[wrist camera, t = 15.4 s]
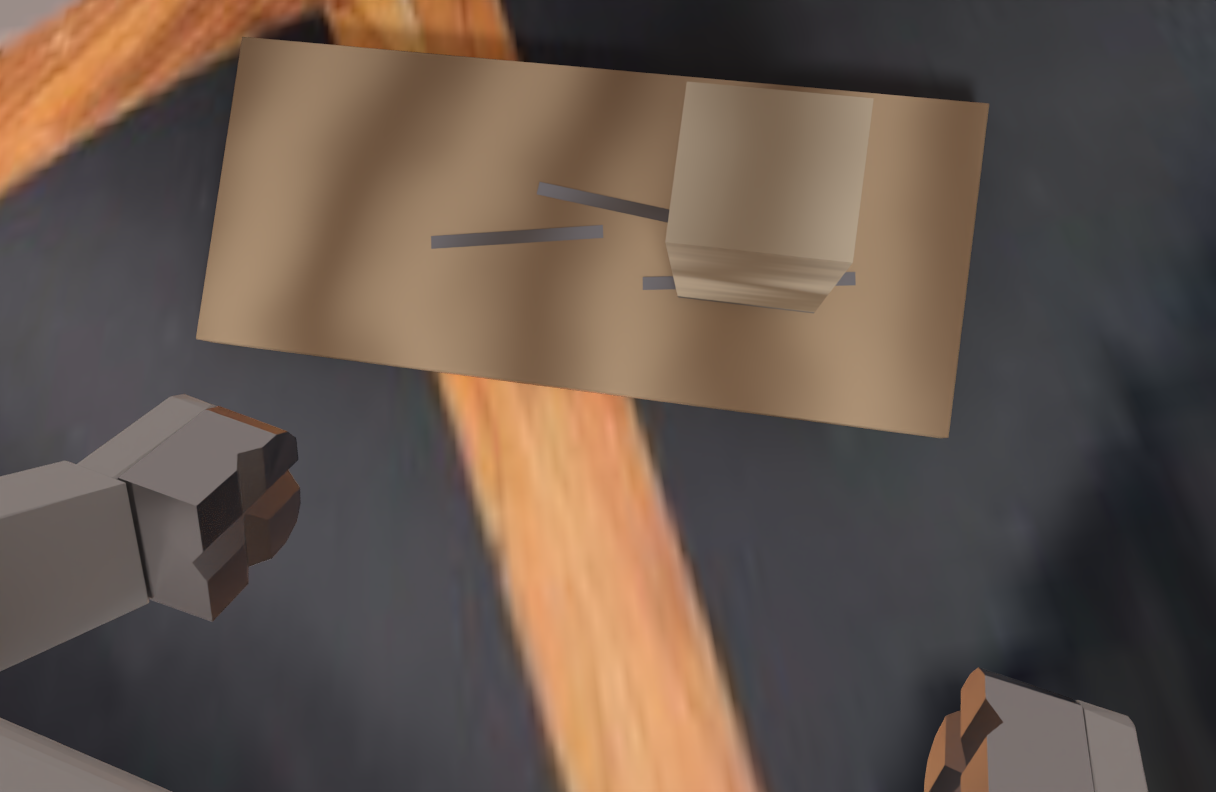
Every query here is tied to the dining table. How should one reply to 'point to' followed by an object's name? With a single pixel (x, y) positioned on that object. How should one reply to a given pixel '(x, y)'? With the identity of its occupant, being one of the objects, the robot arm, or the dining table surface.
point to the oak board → (567, 237)
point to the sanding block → (766, 194)
